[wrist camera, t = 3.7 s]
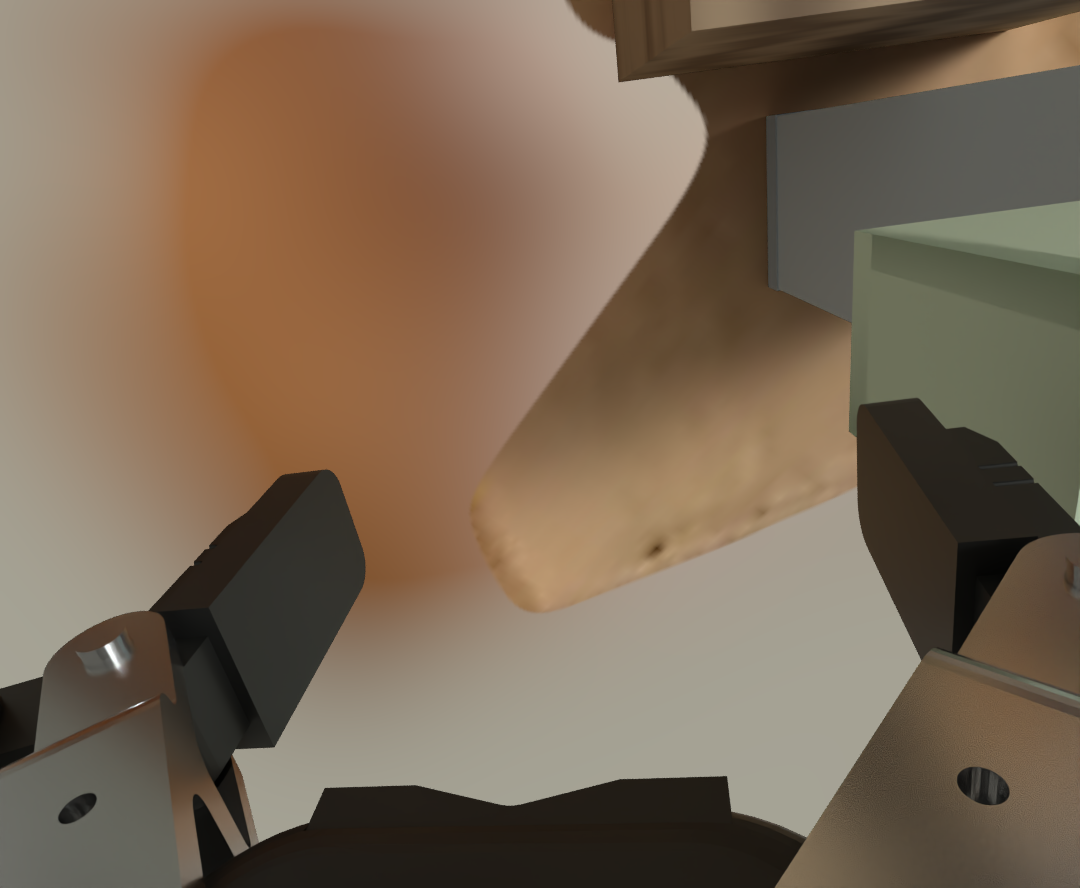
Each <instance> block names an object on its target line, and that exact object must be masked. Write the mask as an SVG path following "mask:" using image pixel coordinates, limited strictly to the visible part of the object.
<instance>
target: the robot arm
mask: <svg viewBox="0 0 1080 888" xmlns="http://www.w3.org/2000/svg"><path fill="white" fill-rule="evenodd" d="M857 490H858V511H859V519H860V525H861V529H862V533H863V537H864V540H865V543H866V545H867V547H868V550H869V552H870V554H871V556H872V558H873V560H874V562H875V564H876V566H877V568H878V570H879V573H880V575H881V577H882V579H883V581H884V583H885V585H886V587H887V589H888V591H889V593H890V596H891V598H892V600H893V602H894V604H895V606H896V608H897V610H898V612H899V614H900V616H901V619H902V621H903V623H904V625H905V627H906V629H907V631H908V633H909V635H910V637H911V639H912V642H913V644H914V646H915V648H916V650H917V652H918V654H919V656H920V658H921V660H922V661H921V662H920V664H919V665H918V667H917V668H916V670H915V672H914V673H913V675H912V676H911V678H910V679H909V681H908V682H907V684H906V686H905V687H904V689H903V690H902V692H901V693H900V695H899V696H898V698H897V699H896V701H895V702H894V704H893V706H892V707H891V709H890V710H889V712H888V713H887V715H886V716H885V718H884V720H883V721H882V723H881V724H880V726H879V727H878V729H877V730H876V732H875V733H874V735H873V737H872V738H871V740H870V741H869V743H868V744H867V746H866V748H865V749H864V750H863V752H862V754H861V755H860V757H859V758H858V760H857V761H856V763H855V764H854V766H853V768H852V769H851V771H850V772H849V774H848V775H847V777H846V778H845V780H844V782H843V783H842V784H841V786H840V788H839V789H838V791H837V792H836V794H835V795H834V797H833V798H832V800H831V801H830V803H829V805H828V806H827V808H826V809H825V811H824V812H823V814H822V815H821V817H820V819H819V820H818V822H817V823H816V825H815V826H814V828H813V829H812V831H811V833H810V834H809V836H808V837H807V838H806V837H804V836H802V835H800V834H797V833H795V832H793V831H791V830H789V829H787V828H784V827H782V826H780V825H777V824H774V823H771V822H768V821H765V820H762V819H759V818H756V817H752V816H748V815H744V814H739V813H735V812H731V806H730V798H729V789H728V782H727V776H722V777H687V778H652V779H620V780H616V781H612V782H608V783H604V784H600V785H596V786H592V787H589V788H584V789H580V790H576V791H572V792H569V793H564V794H561V795H557V796H553V797H549V798H545V799H541V800H537V801H534V802H529V803H525V804H521V805H515V806H505V805H498V804H494V803H490V802H486V801H481V800H477V799H473V798H468V797H464V796H459V795H455V794H451V793H447V792H442V791H438V790H434V789H429V788H425V787H421V786H416V785H411V786H381V787H380V786H378V787H344V788H325V789H324V791H323V793H322V796H321V798H320V800H319V802H318V804H317V807H316V809H315V811H314V813H313V816H312V818H311V820H310V822H309V823H307V824H304V825H301V826H298V827H295V828H292V829H289V830H287V831H284V832H281V833H279V834H277V835H274V836H272V837H270V838H268V839H266V840H264V841H262V842H260V843H259V841H258V837H257V833H256V829H255V825H254V821H253V818H252V813H251V809H250V805H249V801H248V797H247V793H246V789H245V784H244V780H243V776H242V774H241V771H240V769H239V767H238V765H237V763H236V761H235V759H234V757H233V755H232V754H233V752H234V750H235V749H248V748H270V747H275V745H276V743H277V741H278V740H279V738H280V736H281V734H282V732H283V731H284V729H285V727H286V725H287V723H288V721H289V720H290V718H291V716H292V714H293V712H294V711H295V709H296V707H297V705H298V703H299V702H300V700H301V698H302V696H303V694H304V692H305V691H306V689H307V687H308V685H309V683H310V681H311V680H312V678H313V676H314V674H315V673H316V671H317V669H318V667H319V665H320V664H321V662H322V660H323V658H324V656H325V654H326V653H327V651H328V649H329V647H330V645H331V644H332V642H333V640H334V638H335V636H336V635H337V633H338V631H339V629H340V627H341V625H342V624H343V622H344V620H345V618H346V616H347V615H348V613H349V611H350V609H351V607H352V606H353V604H354V602H355V600H356V598H357V596H358V595H359V593H360V591H361V589H362V587H363V584H364V579H365V558H364V552H363V549H362V546H361V543H360V540H359V537H358V534H357V531H356V529H355V526H354V523H353V520H352V517H351V514H350V511H349V508H348V506H347V503H346V500H345V497H344V494H343V491H342V488H341V485H340V483H339V481H338V479H337V477H336V476H335V474H334V473H333V472H331V471H330V470H318V471H311V472H302V473H294V474H285V475H282V476H280V477H279V478H278V479H277V480H276V481H275V482H274V483H273V485H272V486H271V487H270V488H269V489H268V490H267V491H266V492H265V493H264V495H263V496H262V497H261V498H260V499H259V500H258V501H257V502H256V503H255V504H254V505H253V506H252V508H251V509H250V510H249V511H248V512H247V513H246V514H244V515H243V516H241V517H240V518H238V519H237V520H235V521H234V522H232V523H231V524H229V525H228V526H227V527H226V528H225V529H224V530H223V531H222V532H221V533H220V534H219V535H218V537H217V538H216V539H215V540H214V541H213V542H212V543H211V544H210V545H209V547H210V548H209V549H206V550H204V551H203V553H202V554H201V555H200V556H199V557H198V558H197V559H196V560H195V561H194V566H190V567H189V568H188V569H187V570H186V571H185V572H184V573H183V574H182V575H181V576H180V577H179V578H178V580H177V581H176V582H175V583H174V584H173V585H172V586H171V587H170V588H169V589H168V590H167V591H166V592H165V593H164V595H163V596H162V597H161V598H160V599H159V600H158V601H157V602H156V603H155V604H154V605H153V606H152V607H151V608H150V610H149V611H137V612H131V613H127V614H122V615H119V616H116V617H113V618H110V619H108V620H105V621H103V622H101V623H99V624H97V625H95V626H93V627H91V628H89V629H87V630H85V631H84V632H82V633H80V634H79V635H77V636H76V637H75V638H73V639H72V640H70V641H69V642H68V643H66V644H65V645H64V646H63V647H62V648H60V649H59V650H58V651H57V652H56V653H55V655H53V657H52V658H51V660H50V661H49V662H48V664H47V665H46V667H45V670H44V674H43V677H40V678H36V679H33V680H29V681H26V682H22V683H19V684H15V685H12V686H8V687H5V688H1V689H0V888H1080V525H1079V524H1078V523H1077V522H1076V521H1075V520H1074V519H1073V518H1072V517H1071V516H1070V515H1069V514H1068V513H1067V512H1066V511H1065V510H1064V509H1063V508H1062V507H1061V506H1060V505H1059V504H1058V503H1057V502H1056V501H1055V500H1054V499H1053V498H1052V497H1051V496H1050V495H1049V494H1048V493H1047V492H1046V491H1045V490H1044V489H1043V487H1042V486H1041V485H1040V484H1039V483H1034V478H1033V477H1032V476H1031V475H1030V474H1029V473H1028V472H1027V471H1026V470H1025V469H1024V468H1023V467H1022V466H1018V464H1017V461H1016V460H1015V459H1014V458H1013V457H1012V456H1011V455H1010V454H1009V453H1008V452H1007V451H1006V450H1005V449H1004V448H1003V446H1002V445H1001V444H1000V443H999V442H997V441H995V440H993V439H991V438H988V437H986V436H984V435H982V434H979V433H977V432H975V431H973V430H971V429H968V428H966V427H958V428H949V429H946V428H945V427H944V426H943V425H942V424H941V423H940V422H939V420H938V419H937V418H936V417H935V416H934V415H933V413H932V412H931V411H930V410H929V409H928V408H927V406H926V405H925V404H924V403H923V402H922V401H921V400H920V399H919V398H909V399H901V400H893V401H884V402H876V403H868V404H861V405H860V406H859V408H858V412H857Z"/></svg>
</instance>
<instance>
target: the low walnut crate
mask: <svg viewBox="0 0 1080 888" xmlns="http://www.w3.org/2000/svg"><path fill="white" fill-rule="evenodd" d="M612 4H613V16H614V29H615V42H616V55H617V67H618V80H619V82H624V81H631V80H639V79H646V78H654V77H661V76H669V75H676V74H684V73H691V72H699V71H706V70H714V69H721V68H729V67H736V66H743V65H751V64H758V63H766V62H773V61H781V60H788V59H796V58H803V57H811V56H818V55H826V54H833V53H840V52H848V51H855V50H863V49H870V48H878V47H885V46H893V45H900V44H908V43H915V42H923V41H930V40H937V39H945V38H952V37H960V36H967V35H975V34H982V33H990V32H997V31H1005V30H1010V29H1014V28H1018V27H1022V26H1026V25H1029V24H1033V23H1037V22H1041V21H1045V20H1048V19H1052V18H1056V17H1060V16H1064V15H1068V14H1071V13H1075V12H1079V11H1080V0H612Z"/></svg>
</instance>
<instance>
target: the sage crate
mask: <svg viewBox="0 0 1080 888" xmlns="http://www.w3.org/2000/svg"><path fill="white" fill-rule="evenodd" d="M909 398H919V399H920V400H921V401H922V402H923V403H924V404H925V405H926V406H927V408H928V409H929V410H930V411H931V412H932V413H933V415H934V416H935V417H936V418H937V419H938V420H939V422H940V423H941V424H942V425H943V426H944V427H945V428H946V429H949V428H958V427H966V428H968V429H971V430H973V431H975V432H977V433H979V434H982V435H984V436H986V437H988V438H991V439H993V440H995V441H997V442H999V443H1000V444H1001V445H1002V446H1003V448H1004V449H1005V450H1006V451H1007V452H1008V453H1009V454H1010V455H1011V456H1012V457H1013V458H1014V459H1015V460H1016V461H1017V464H1018V466H1022V467H1023V468H1024V469H1025V470H1026V471H1027V472H1028V473H1029V474H1030V475H1031V476H1032V477H1033V478H1034V483H1039V484H1040V485H1041V486H1042V487H1043V489H1044V490H1045V491H1046V492H1047V493H1048V494H1049V495H1050V496H1051V497H1052V498H1053V499H1054V500H1055V501H1056V502H1057V503H1058V504H1059V505H1060V506H1061V507H1062V508H1063V509H1064V510H1065V511H1066V512H1067V513H1068V514H1069V515H1070V516H1071V517H1072V518H1073V519H1074V520H1075V521H1076V522H1077V523H1078V524H1079V525H1080V201H1073V202H1066V203H1058V204H1051V205H1043V206H1036V207H1028V208H1021V209H1013V210H1006V211H998V212H991V213H983V214H976V215H968V216H961V217H953V218H946V219H938V220H931V221H923V222H916V223H909V224H901V225H894V226H886V227H879V228H871V229H864V230H856V231H854V264H853V301H852V338H851V374H850V411H849V432H850V433H852V434H853V435H854V436H856V437H857V412H858V408H859V406H860V405H861V404H868V403H876V402H884V401H893V400H901V399H909Z"/></svg>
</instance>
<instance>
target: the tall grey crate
mask: <svg viewBox="0 0 1080 888" xmlns="http://www.w3.org/2000/svg"><path fill="white" fill-rule="evenodd" d="M766 146H767V221H768V287H769V288H772V289H774V290H776V291H783V292H786V293H788V294H790V295H792V296H794V297H797V298H799V299H801V300H803V301H805V302H807V303H810V304H812V305H814V306H816V307H818V308H820V309H823V310H825V311H827V312H829V313H831V314H833V315H836V316H838V317H840V318H842V319H844V320H847V321H849V322H851V323H852V301H853V264H854V231H856V230H864V229H871V228H879V227H886V226H894V225H901V224H909V223H916V222H923V221H931V220H938V219H946V218H953V217H961V216H968V215H976V214H983V213H991V212H998V211H1006V210H1013V209H1021V208H1028V207H1036V206H1043V205H1051V204H1058V203H1066V202H1073V201H1080V65H1078V66H1072V67H1067V68H1061V69H1055V70H1049V71H1043V72H1037V73H1031V74H1025V75H1019V76H1013V77H1007V78H1001V79H996V80H990V81H984V82H978V83H972V84H966V85H960V86H954V87H948V88H942V89H936V90H931V91H925V92H919V93H913V94H907V95H901V96H895V97H889V98H883V99H877V100H871V101H865V102H860V103H854V104H848V105H842V106H836V107H830V108H822V109H815V110H808V111H800V112H793V113H785V114H778V115H771V116H766Z"/></svg>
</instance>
